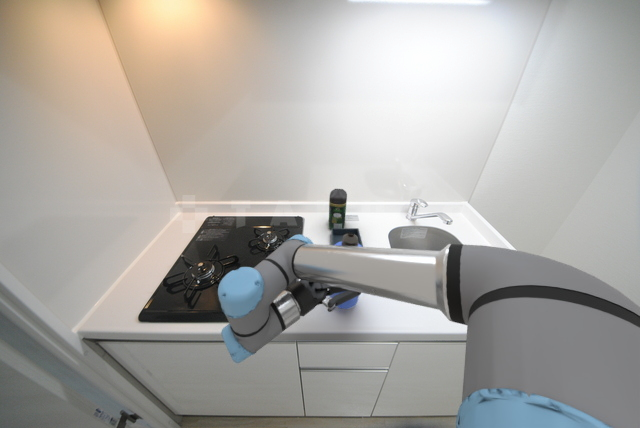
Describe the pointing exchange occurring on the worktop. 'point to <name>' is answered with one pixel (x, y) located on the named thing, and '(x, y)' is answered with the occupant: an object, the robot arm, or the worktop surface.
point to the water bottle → (348, 240)
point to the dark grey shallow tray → (340, 232)
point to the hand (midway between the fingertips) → (357, 258)
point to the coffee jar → (337, 208)
